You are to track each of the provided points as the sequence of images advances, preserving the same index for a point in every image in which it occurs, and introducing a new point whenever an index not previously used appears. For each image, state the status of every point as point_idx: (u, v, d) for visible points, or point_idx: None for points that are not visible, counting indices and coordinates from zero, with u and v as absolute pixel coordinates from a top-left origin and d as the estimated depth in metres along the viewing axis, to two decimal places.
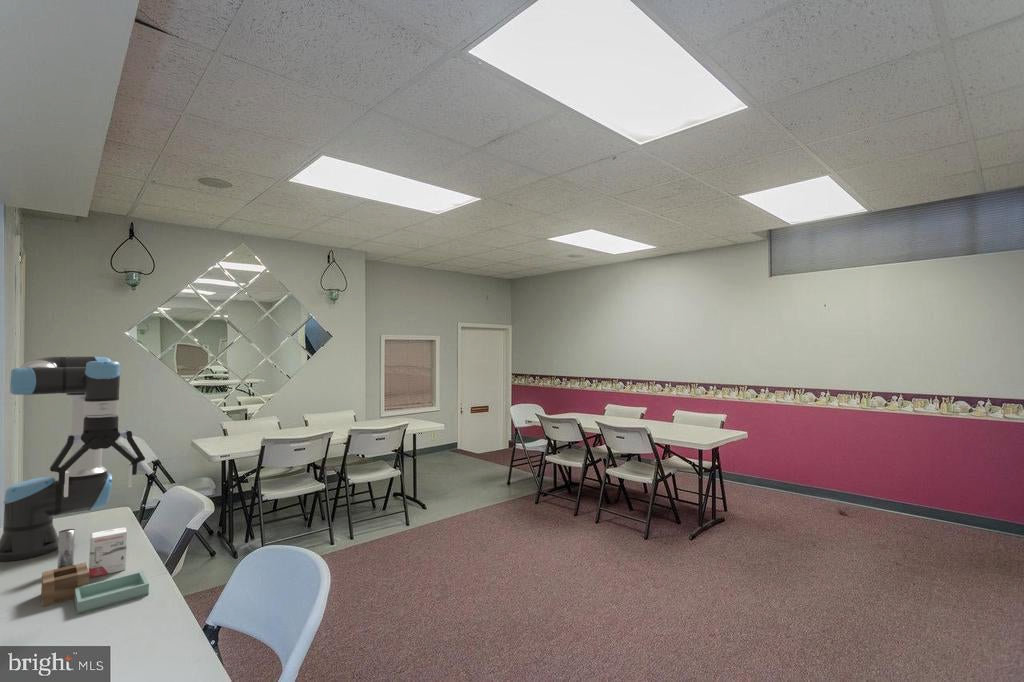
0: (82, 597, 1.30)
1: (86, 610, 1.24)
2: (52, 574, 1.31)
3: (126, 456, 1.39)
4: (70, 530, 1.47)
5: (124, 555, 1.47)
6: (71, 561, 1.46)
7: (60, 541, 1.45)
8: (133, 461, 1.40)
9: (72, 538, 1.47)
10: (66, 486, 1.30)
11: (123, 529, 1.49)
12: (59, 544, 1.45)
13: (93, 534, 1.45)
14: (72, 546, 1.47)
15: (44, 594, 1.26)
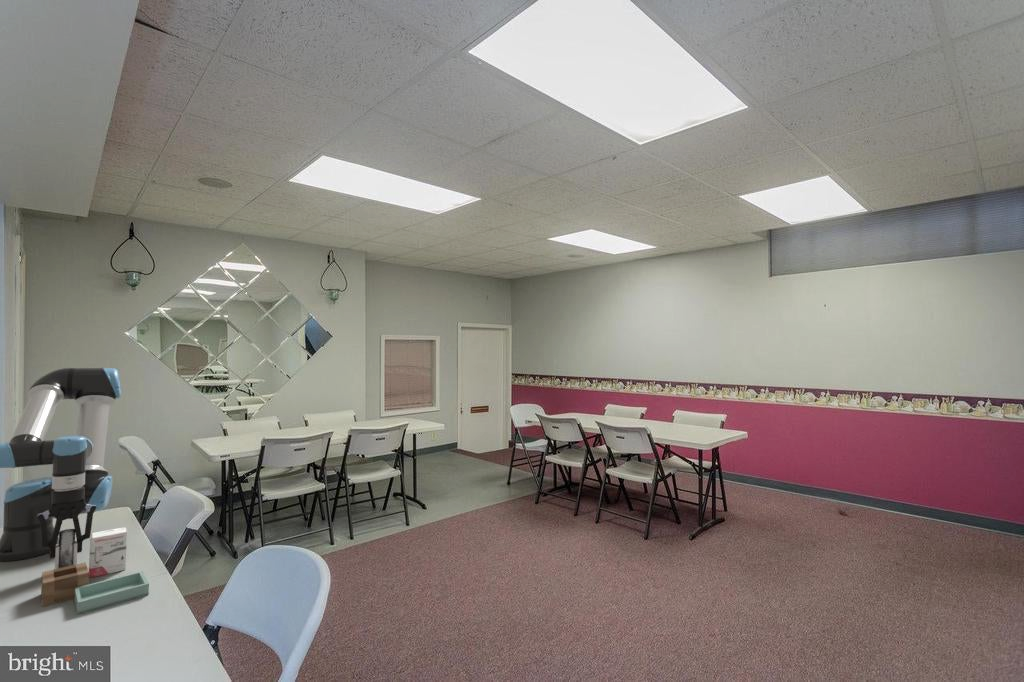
0: (82, 597, 1.30)
1: (86, 610, 1.24)
2: (52, 574, 1.31)
3: (76, 532, 1.47)
4: (70, 530, 1.47)
5: (124, 555, 1.47)
6: (71, 561, 1.46)
7: (60, 541, 1.45)
8: (79, 539, 1.48)
9: (73, 538, 1.47)
10: (56, 559, 1.44)
11: (123, 529, 1.49)
12: (60, 544, 1.45)
13: (93, 534, 1.45)
14: (72, 546, 1.47)
15: (44, 594, 1.26)
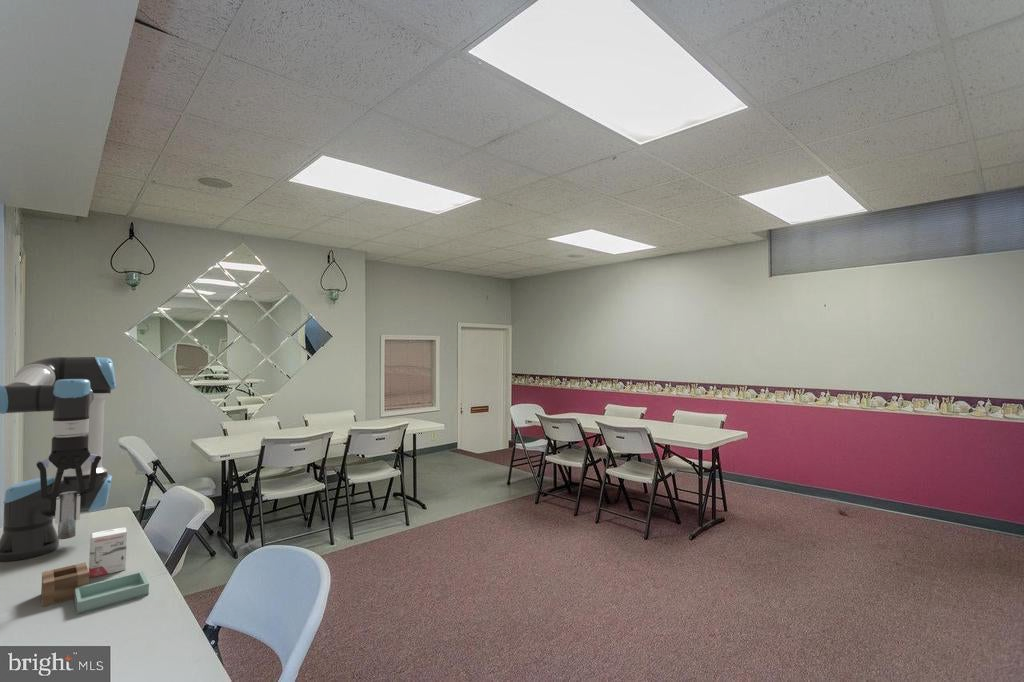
0: (82, 597, 1.30)
1: (86, 610, 1.24)
2: (52, 574, 1.31)
3: (79, 483, 1.34)
4: (72, 492, 1.33)
5: (124, 555, 1.47)
6: (73, 526, 1.33)
7: (61, 503, 1.31)
8: (82, 491, 1.34)
9: (75, 500, 1.33)
10: (57, 512, 1.30)
11: (123, 529, 1.49)
12: (60, 507, 1.31)
13: (93, 534, 1.45)
14: (74, 509, 1.33)
15: (44, 594, 1.26)
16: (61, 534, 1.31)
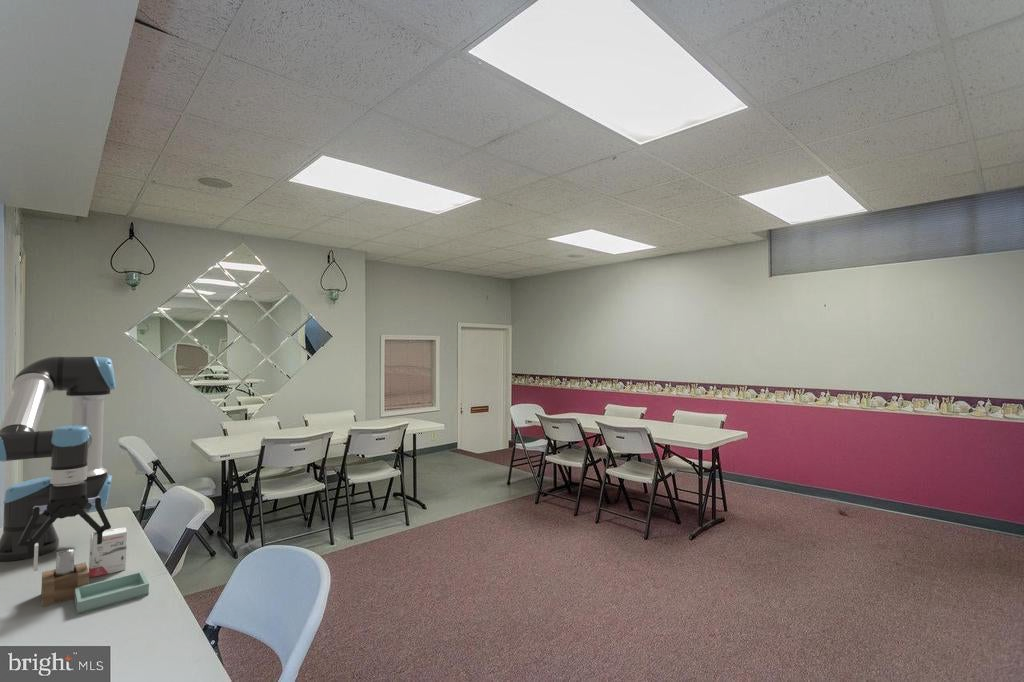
0: (82, 597, 1.30)
1: (86, 610, 1.24)
2: (52, 574, 1.31)
3: (91, 525, 1.35)
4: (69, 549, 1.33)
5: (124, 555, 1.47)
6: None
7: (58, 562, 1.31)
8: (98, 530, 1.36)
9: (72, 558, 1.32)
10: (35, 560, 1.27)
11: (123, 529, 1.49)
12: (57, 565, 1.31)
13: None
14: (71, 567, 1.32)
15: (44, 594, 1.26)
16: None
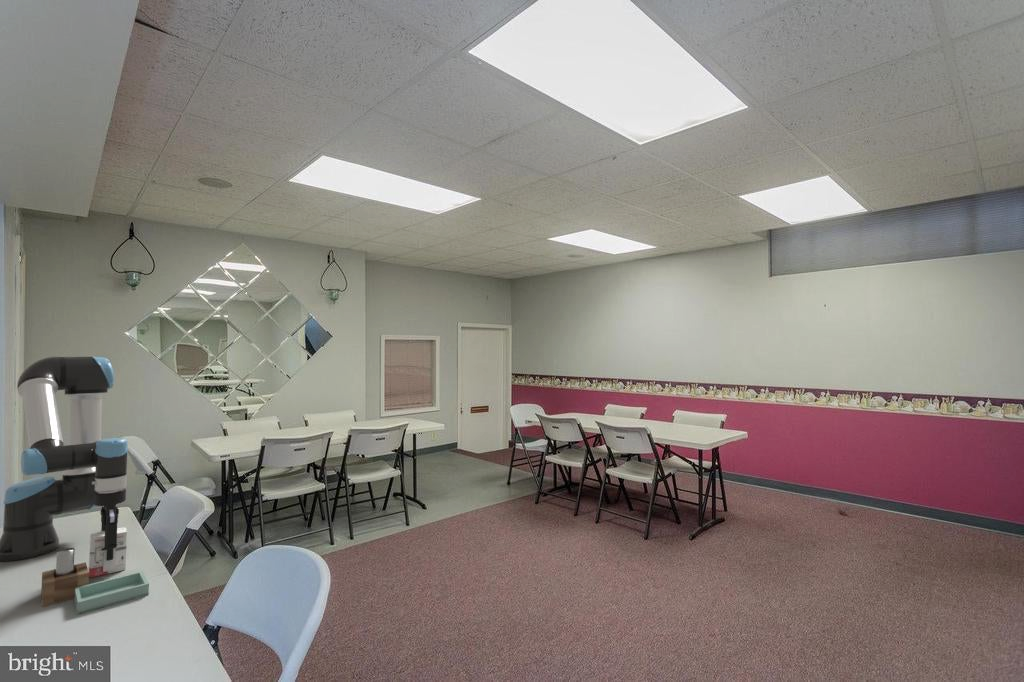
0: (82, 597, 1.30)
1: (86, 610, 1.24)
2: (52, 574, 1.31)
3: None
4: (69, 549, 1.33)
5: (124, 555, 1.47)
6: None
7: (58, 562, 1.31)
8: None
9: (72, 558, 1.32)
10: None
11: (123, 529, 1.49)
12: (57, 565, 1.31)
13: (93, 534, 1.45)
14: (71, 567, 1.32)
15: (44, 594, 1.26)
16: None
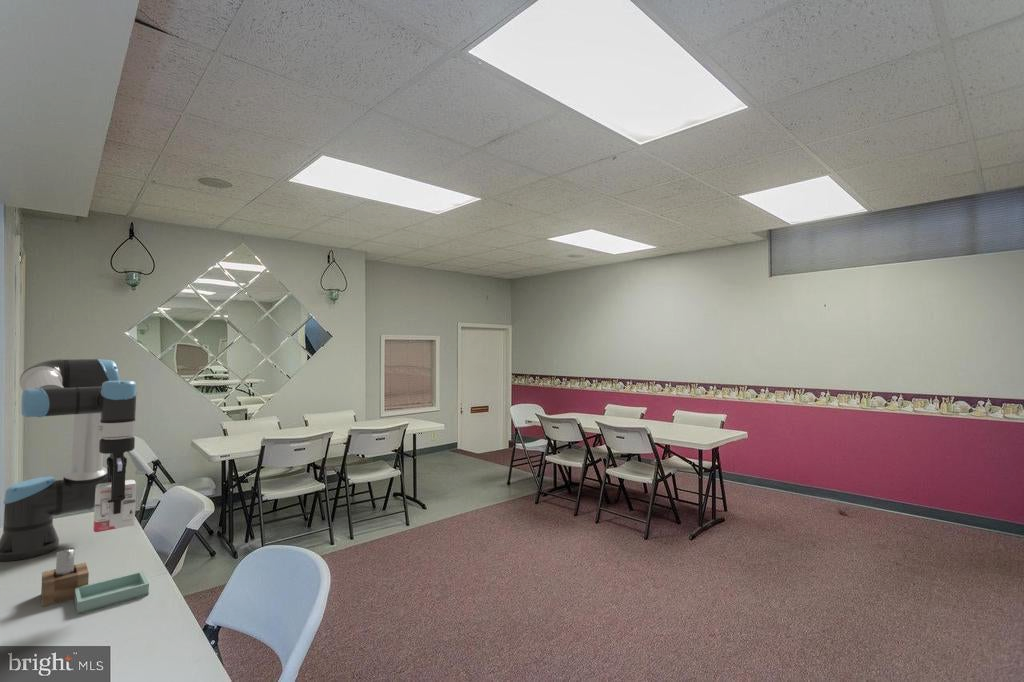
0: (82, 597, 1.30)
1: (86, 610, 1.24)
2: (52, 574, 1.31)
3: (111, 489, 1.29)
4: (69, 549, 1.33)
5: (133, 509, 1.33)
6: None
7: (58, 562, 1.31)
8: (111, 498, 1.29)
9: (72, 558, 1.33)
10: None
11: (132, 481, 1.35)
12: (57, 565, 1.31)
13: (98, 485, 1.30)
14: (72, 567, 1.32)
15: (44, 594, 1.26)
16: None
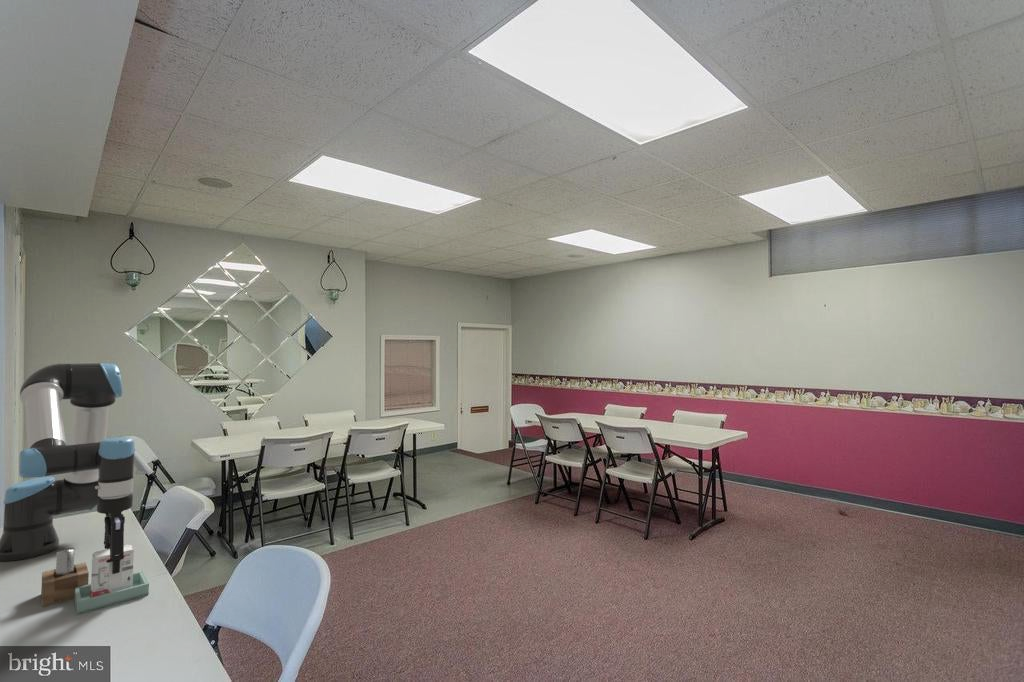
0: (82, 597, 1.30)
1: (86, 610, 1.24)
2: (52, 574, 1.31)
3: (110, 549, 1.28)
4: (69, 549, 1.33)
5: (131, 575, 1.33)
6: None
7: (58, 562, 1.31)
8: (110, 558, 1.27)
9: (72, 558, 1.32)
10: None
11: (129, 546, 1.35)
12: (57, 565, 1.31)
13: (95, 553, 1.30)
14: (71, 567, 1.32)
15: (44, 594, 1.26)
16: None
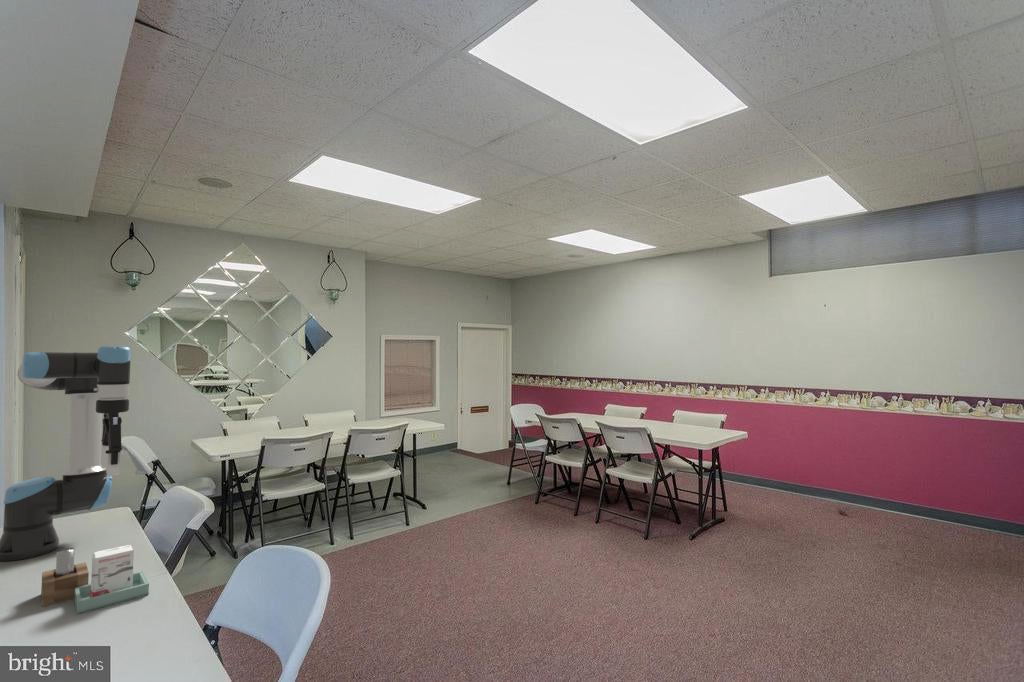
0: (82, 597, 1.30)
1: (86, 610, 1.24)
2: (52, 574, 1.31)
3: (108, 443, 1.36)
4: (69, 549, 1.33)
5: (131, 576, 1.33)
6: None
7: (58, 562, 1.31)
8: (108, 450, 1.35)
9: (72, 558, 1.32)
10: None
11: (129, 547, 1.35)
12: (57, 565, 1.31)
13: (96, 553, 1.30)
14: (71, 567, 1.32)
15: (44, 594, 1.26)
16: None
